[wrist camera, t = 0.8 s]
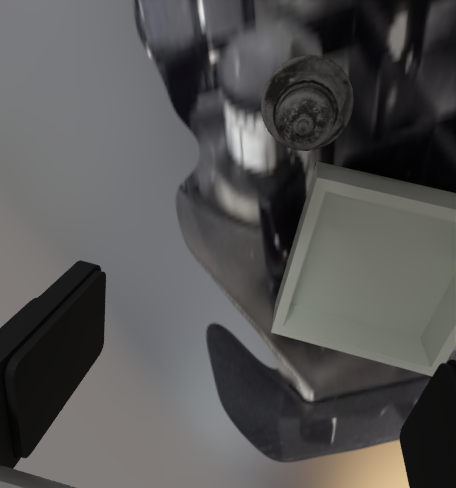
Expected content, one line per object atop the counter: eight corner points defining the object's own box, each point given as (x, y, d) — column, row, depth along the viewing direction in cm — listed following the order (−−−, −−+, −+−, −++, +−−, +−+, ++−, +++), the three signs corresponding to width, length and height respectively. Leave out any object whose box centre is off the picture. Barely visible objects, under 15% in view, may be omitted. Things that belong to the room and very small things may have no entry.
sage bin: (316, 161, 30) (316, 177, 27) (498, 203, 29) (526, 226, 25) (275, 302, 37) (270, 332, 33) (423, 342, 36) (436, 377, 32)
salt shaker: (347, 138, 29) (366, 187, 19) (268, 142, 31) (244, 191, 20) (351, 50, 27) (375, 50, 16) (264, 58, 28) (234, 63, 18)
